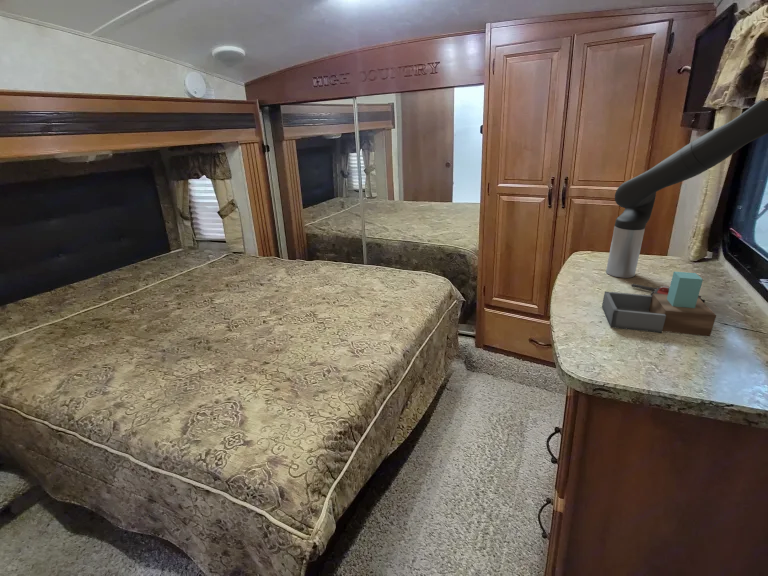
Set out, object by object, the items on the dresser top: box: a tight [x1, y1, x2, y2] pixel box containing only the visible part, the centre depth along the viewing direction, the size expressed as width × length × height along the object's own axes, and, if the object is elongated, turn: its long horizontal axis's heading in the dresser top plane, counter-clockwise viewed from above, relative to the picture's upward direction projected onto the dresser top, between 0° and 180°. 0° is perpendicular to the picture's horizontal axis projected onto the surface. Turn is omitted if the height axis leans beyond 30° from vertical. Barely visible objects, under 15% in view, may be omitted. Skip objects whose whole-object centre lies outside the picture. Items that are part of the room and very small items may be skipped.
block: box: [667, 271, 704, 308], centre depth 108 cm, size 5×5×8 cm
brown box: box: [649, 293, 717, 337], centre depth 111 cm, size 12×11×6 cm
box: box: [601, 291, 666, 334], centre depth 114 cm, size 14×12×5 cm
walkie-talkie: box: [631, 283, 706, 304], centre depth 127 cm, size 9×4×20 cm
